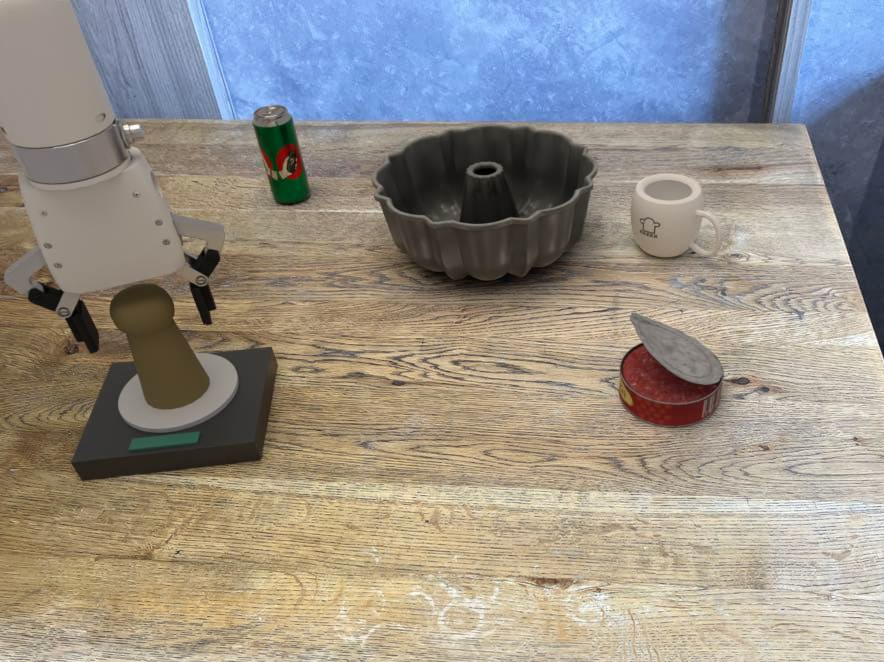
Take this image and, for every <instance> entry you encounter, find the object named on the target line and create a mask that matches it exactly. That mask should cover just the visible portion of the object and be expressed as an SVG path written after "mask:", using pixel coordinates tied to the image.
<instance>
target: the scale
mask: <svg viewBox="0 0 884 662" xmlns="http://www.w3.org/2000/svg"><path fill="white" fill-rule="evenodd" d="M194 354H195V355H196V357H197V358H198V360H199V362H200V363H201V365H202V367H203V368H204V370H205V372H206V373H207V375H208V376H209V378H210V385H209V387H208V389H207V391H206V392H205V393H204V394H203V396H202V397H200V398H199V399H198V400H196V401H195V402H193V403H191V404H189V405H186V406H184V407H180V408H176V409H167V410H161V409H157V408H153V407H152V406H150V405H148V404H147V402H146V400H145V398H144V395H143V391H142V388H141V384H140V381H139V377H138V374H137V370H136V367H135V363H134V360H130V361H129V360H128V361H121V362H120V361H119V362H112V363H111V364H110V366H109V369H108V371H107V373H106V376H105V378H104V381H103V382H102V385H101V388H100V390H99V392H98V395H97V397H96V400H95V402H94V405H93V407H92V409H91V412H90V415H89V417H88V419H87V422H86V424H85V427H84V429H83V431H82V433H81V436H80V439H79V441H78V444H77V446H76V448H75V451H74V453H73V455H72V458H71V460H70V464H71V466H72V467H73V469H74V470H75V472H76V474H77V475H78V477H79V478H80V480H81V481H88V480H99V479H108V478H115V477H124V476H134V475H142V474H151V473H159V472H160V473H161V472H167V471H168V472H169V471H176V470H178V471H179V470H185V469H186V470H187V469H193V468H195V469H196V468H204V467H213V466H221V465H230V464H239V463H247V462H257V461H262V456H263V450H264V445H265V438H266V435H267V434H266V433H267V427H268V422H269V417H270V416H269V415H270V409H271V405H272V399H273V393H274V389H275V388H274V387H275V383H276V376H277V370H278V361H277V358H276V355H275V352H274V349H273V347H272V346H264V347H256V348H246V349H244V348H243V349H236V350H225V351H217V352H215V351H214V352H207V353H206V352H194Z"/></svg>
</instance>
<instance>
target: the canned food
mask: <svg viewBox="0 0 884 662" xmlns="http://www.w3.org/2000/svg"><path fill="white" fill-rule="evenodd" d="M629 321H630V322H631V324H632V326H633V327H634V329H635V332H636V335H637V336H638V338H639V340H640V342H639V343H637V344H636V345H634V346H632V347H631V348H630V349H629V350H628V351H626V353H625V354H624V355H623V357H622V358H621V361H620V364H619V384H618V395H619V399H620V402H621V404H622V405H623V408H625V410H626V411H628V412H629V414H630V415H632V416H634V417H635V418H637V419H638V420H640V421H643V422H644V423H647V424H650V425H653V426H658V427H665V428H683V427H690V426H693V425H696V424H698V423H701V422H703V421H705V420H706V419H708V418H709V417H711V416H712V415H713V414H714V413H715V412H716V410H717V409H718V407H719V406H720V402H721V397H722V396H721V393H722V390H723V389H722V388H723V382H724V377H725V371H724V366H723V364H722V362H721V360H720V359H719V357H718V356H717V355H716V354H715V353H714V352H713V351H712V350H711V349H710V348H708V347H706V346H705V345H704V344H703V343H701V342H700V341H699V340H698V339H697V338H694V337H692V336H691V335H688V334H686V333H685V332H683V331H682V330H681V329H678V328H676V327H672V326H669V325H667V324H665V323H664V322H661V321H658V320H655V319H652V318H651V317H650V318H649V317H647V316H645V315H640V314H639V313H637V312H631V313H630V316H629Z"/></svg>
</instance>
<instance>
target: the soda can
mask: <svg viewBox="0 0 884 662" xmlns="http://www.w3.org/2000/svg"><path fill="white" fill-rule="evenodd" d="M252 116H253V119H252V127H253V130H254V135H255V138H256V141H257V145H258V148H259V152H260V156H261V158H262V163H263V166H264V169H265V174H266V178H267V181H268V184H269V188H270V192H271V194H272V197H273V199H274V200H275V201H277V202H278V203H280V204H282V205H283V204H284V205H293V204H298V203H301V202H303V201H305V200H306V199H307V198H308V197H309V195H310V193H311V187H310V183H309V179H308V174H307V171H306V167H305V162H304V159H303V155H302V150H301V146H300V143H299V138H298V134H297V130H296V126H295V123H294V118H293V115H292V114H291V113H290V112H289V110H288V108H287V107H286V106H284V105H281V104H270V105H265V106H261V107H259V108H257V109H255V110H253V113H252Z"/></svg>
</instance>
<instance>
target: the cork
mask: <svg viewBox="0 0 884 662" xmlns="http://www.w3.org/2000/svg"><path fill="white" fill-rule="evenodd" d="M108 310H109V316H110V318H111V320H112V322H113V324H114V326H115V327H116V328H117V329H118V330H119V331H120V332H122V333H123V334H125V335H126V336H125V337H126V339H127V342H128V346H129V349H130V353H131V356H132V359H133V360H132V361H134V363H135V367H136V370H137V374H138V377H139V381H140V384H141V388H142V391H143V395H144V398H145V400H146V402H147V404H148V405H150V406H152V407H153V408H157V409H161V410H167V409H176V408H180V407H184V406H186V405H189V404H191V403H193V402H195V401H196V400H198V399H199V398H200V397H202V396H203V394H204V393H205V392H206V391H207V389H208V387H209V385H210V378H209V376H208V375H207V373H206V372H205V370H204V368H203V367H202V365H201V363H200V362H199V360H198V358H197V357H196V355H195V354H194V353H195V352H194V350H193V349H192V347H191V345H190V344H189V342H188V341H187V338H186V337H185V335H184V334H183V332H182V330H181V329H180V327H179V325H178V324H177V322H176V321H175V319H174V318H175V313H176V312H175V303H174V300H173V298H172V296H171V295H170V294H169V293H168V291H167V290H166V289H165V288H163V287H162V286H160V285H158V284H155V283H137V284H131V285H130V286H127V287H125V288H122V289H121V290H120V291H118V292H117V293H116V294H115V295H114V296H113V297H112V299H111V300H110V304H109V309H108Z"/></svg>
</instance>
